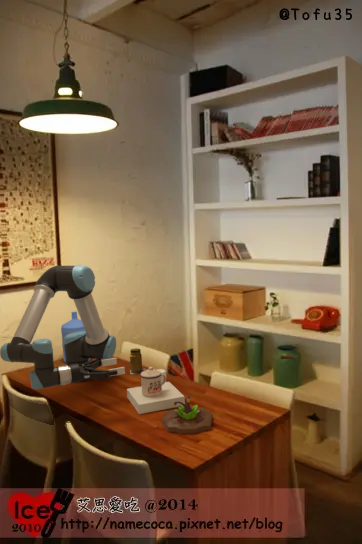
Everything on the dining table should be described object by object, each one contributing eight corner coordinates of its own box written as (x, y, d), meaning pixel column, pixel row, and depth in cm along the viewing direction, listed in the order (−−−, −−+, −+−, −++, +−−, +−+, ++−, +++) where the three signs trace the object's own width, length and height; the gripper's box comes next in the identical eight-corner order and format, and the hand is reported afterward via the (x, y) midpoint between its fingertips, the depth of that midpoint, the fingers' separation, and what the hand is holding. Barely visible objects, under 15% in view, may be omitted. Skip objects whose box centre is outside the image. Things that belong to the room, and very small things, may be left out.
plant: (164, 437, 175) (162, 407, 174) (161, 415, 194) (159, 388, 193) (217, 432, 177) (216, 403, 176) (209, 411, 196) (208, 385, 195)
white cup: (169, 383, 230) (168, 369, 229) (164, 388, 223) (163, 373, 222) (155, 382, 232) (155, 368, 231) (150, 387, 225) (149, 372, 225)
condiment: (129, 370, 251) (128, 348, 250) (145, 368, 253) (144, 346, 251) (130, 374, 244) (129, 352, 243) (147, 373, 246) (145, 350, 244)
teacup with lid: (148, 399, 200) (147, 372, 199) (137, 393, 208) (136, 367, 206) (172, 392, 207) (170, 366, 206) (160, 386, 215) (159, 361, 213)
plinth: (127, 397, 214) (126, 388, 213) (169, 389, 221) (168, 381, 220) (139, 414, 195) (138, 404, 195) (184, 405, 202) (184, 396, 202)
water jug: (57, 361, 272) (54, 313, 269) (80, 354, 284) (76, 308, 281) (74, 366, 262) (71, 316, 259) (97, 358, 274) (93, 311, 271)
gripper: (66, 373, 207) (114, 365, 215) (75, 393, 184) (128, 383, 192) (64, 356, 206) (112, 349, 214) (74, 374, 183) (127, 365, 191)
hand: (120, 365), depth 203 cm, fingers open, 13 cm apart
